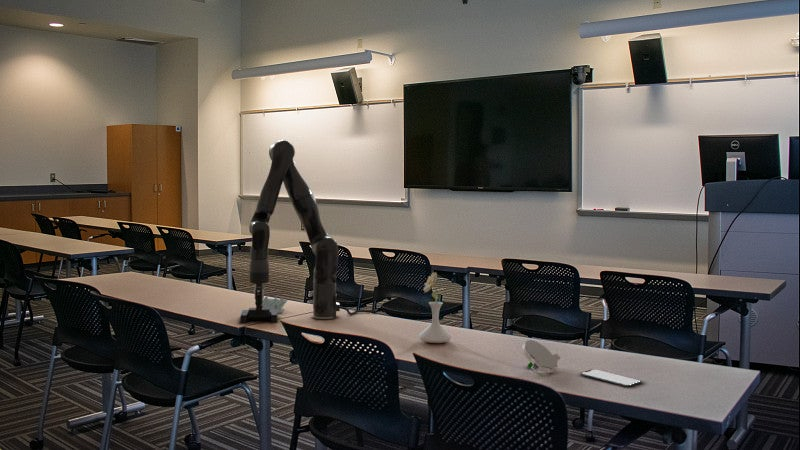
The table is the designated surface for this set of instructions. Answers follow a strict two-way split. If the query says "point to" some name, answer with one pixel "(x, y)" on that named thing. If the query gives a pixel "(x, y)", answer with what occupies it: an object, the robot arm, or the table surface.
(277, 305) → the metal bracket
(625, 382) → the smartphone
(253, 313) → the small black pad
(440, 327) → the flower in vase
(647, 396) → the table surface
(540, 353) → the tabbed white plastic disc
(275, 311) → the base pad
